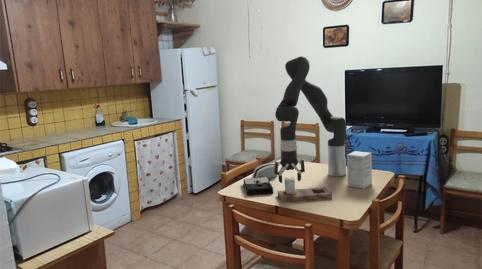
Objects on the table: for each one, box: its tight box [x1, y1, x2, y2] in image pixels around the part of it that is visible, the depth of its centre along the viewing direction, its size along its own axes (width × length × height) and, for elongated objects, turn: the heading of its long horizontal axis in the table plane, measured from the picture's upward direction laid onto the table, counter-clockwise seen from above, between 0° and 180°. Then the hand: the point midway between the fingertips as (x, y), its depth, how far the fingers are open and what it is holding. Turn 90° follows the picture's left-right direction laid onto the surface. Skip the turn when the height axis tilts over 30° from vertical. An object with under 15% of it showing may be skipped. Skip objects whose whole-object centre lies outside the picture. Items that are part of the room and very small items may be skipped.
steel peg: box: [284, 176, 296, 196], centre depth 175 cm, size 4×4×10 cm
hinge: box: [250, 162, 278, 180], centre depth 208 cm, size 17×5×10 cm, turn 126°
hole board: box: [277, 186, 333, 204], centre depth 176 cm, size 24×10×3 cm, turn 95°
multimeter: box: [243, 177, 274, 197], centre depth 192 cm, size 13×19×5 cm
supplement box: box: [346, 150, 373, 189], centre depth 188 cm, size 10×9×17 cm
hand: (289, 181), depth 174 cm, fingers open, 8 cm apart
